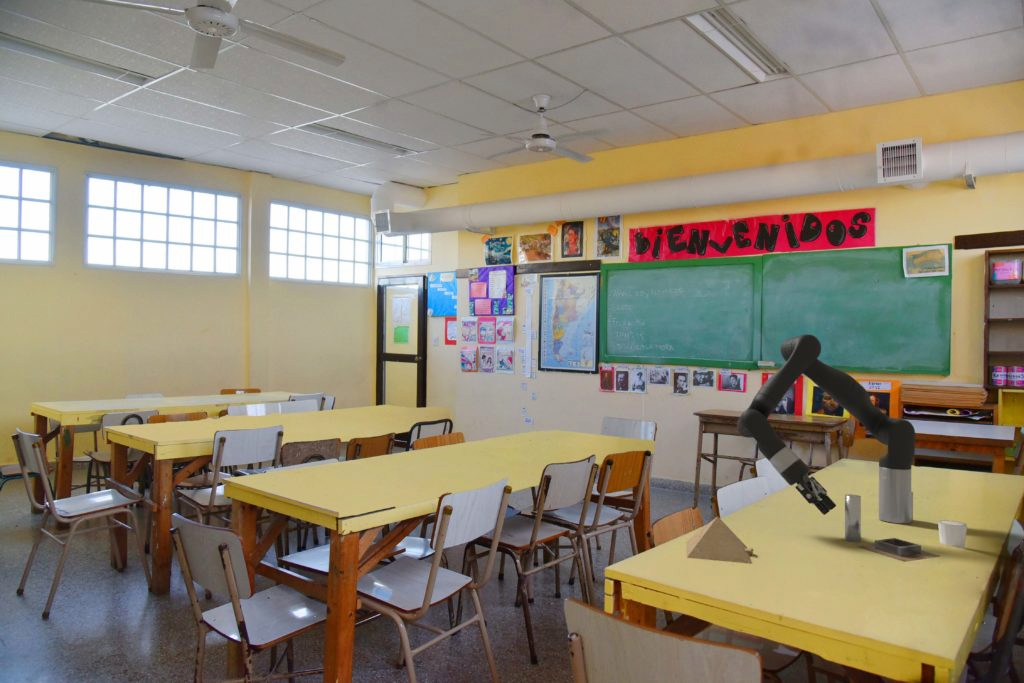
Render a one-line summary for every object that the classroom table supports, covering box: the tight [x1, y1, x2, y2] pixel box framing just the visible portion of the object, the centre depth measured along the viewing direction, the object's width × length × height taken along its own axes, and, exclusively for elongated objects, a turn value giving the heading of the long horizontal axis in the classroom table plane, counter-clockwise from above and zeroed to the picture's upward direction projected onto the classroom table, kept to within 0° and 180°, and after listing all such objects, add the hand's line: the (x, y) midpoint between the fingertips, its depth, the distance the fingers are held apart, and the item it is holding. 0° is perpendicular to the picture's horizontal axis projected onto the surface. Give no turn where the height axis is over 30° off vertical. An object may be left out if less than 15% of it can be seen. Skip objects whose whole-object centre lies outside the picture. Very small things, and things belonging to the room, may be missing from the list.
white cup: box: [937, 519, 968, 550], centre depth 185 cm, size 7×7×7 cm
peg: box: [844, 493, 862, 543], centre depth 187 cm, size 4×4×13 cm
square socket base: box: [856, 537, 940, 563], centre depth 177 cm, size 14×14×3 cm
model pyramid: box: [686, 516, 754, 564], centre depth 177 cm, size 17×17×10 cm
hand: (830, 510), depth 190 cm, fingers open, 8 cm apart
